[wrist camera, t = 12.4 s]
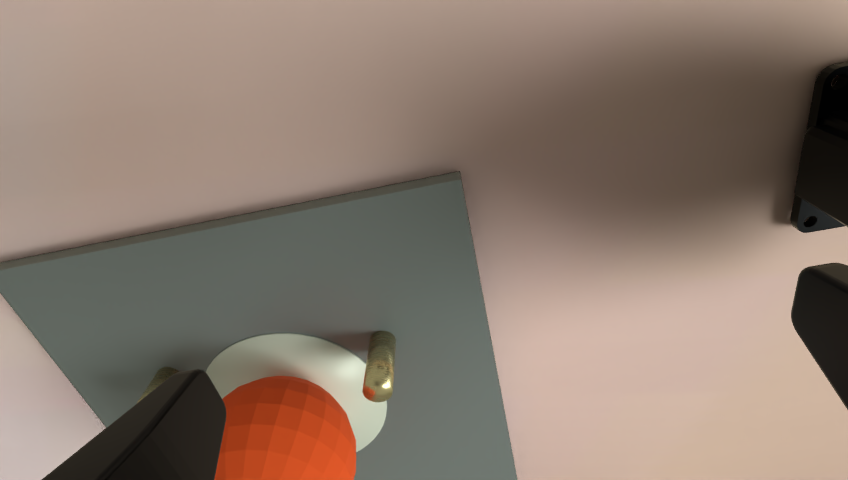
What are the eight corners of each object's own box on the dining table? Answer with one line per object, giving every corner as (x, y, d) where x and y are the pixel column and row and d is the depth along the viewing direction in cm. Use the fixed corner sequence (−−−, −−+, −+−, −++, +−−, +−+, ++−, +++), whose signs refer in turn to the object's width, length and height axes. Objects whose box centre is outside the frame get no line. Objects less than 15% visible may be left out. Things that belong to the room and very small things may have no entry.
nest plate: (459, 171, 19) (461, 180, 18) (518, 484, 28) (521, 499, 28) (-1, 263, 21) (-17, 274, 20) (200, 527, 30) (194, 541, 30)
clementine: (391, 441, 25) (381, 597, 19) (270, 467, 26) (223, 623, 20) (332, 327, 21) (295, 474, 15) (192, 362, 22) (105, 513, 16)
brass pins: (392, 328, 22) (388, 378, 19) (436, 471, 27) (438, 526, 24) (152, 369, 23) (117, 421, 20) (237, 498, 28) (218, 553, 25)
